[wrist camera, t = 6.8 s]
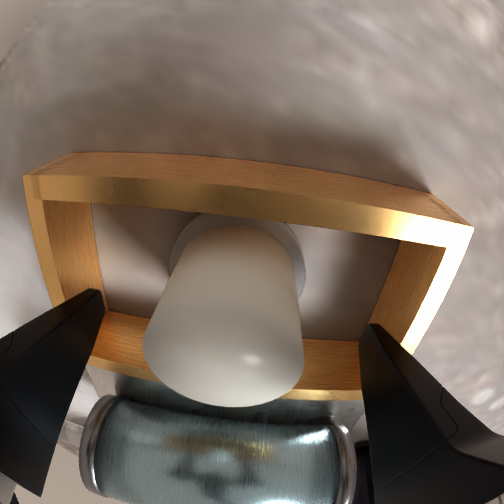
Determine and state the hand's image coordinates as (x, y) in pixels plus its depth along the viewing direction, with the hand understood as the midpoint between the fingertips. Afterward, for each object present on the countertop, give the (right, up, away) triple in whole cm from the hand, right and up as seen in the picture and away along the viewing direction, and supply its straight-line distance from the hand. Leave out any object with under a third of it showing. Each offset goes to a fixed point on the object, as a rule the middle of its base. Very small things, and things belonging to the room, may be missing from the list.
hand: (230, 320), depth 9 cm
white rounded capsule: (0, +2, +3) cm, 3 cm away
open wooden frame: (-1, -3, +5) cm, 6 cm away
